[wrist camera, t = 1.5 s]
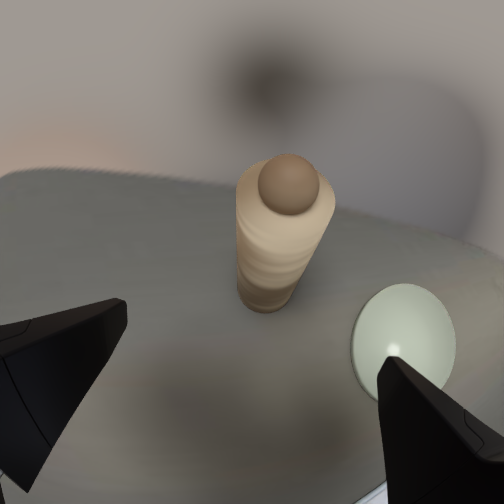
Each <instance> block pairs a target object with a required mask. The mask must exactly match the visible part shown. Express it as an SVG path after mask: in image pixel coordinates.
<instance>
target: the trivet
mask: <svg viewBox="0 0 504 504" xmlns="http://www.w3.org/2000/svg"><path fill="white" fill-rule="evenodd" d="M455 352H456V340H455V332H454V328H453V324H452V321H451V319H450V316H449V314H448V312H447V310H446V309H445V307H444V306H443V304H442V303H441V302H440V301H439V299H438V298H437V297H435V296H434V295H433V294H432V293H431V292H429V291H428V290H426V289H424V288H422V287H419V286H417V285H412V284H396V285H393V286H390V287H387V288H385V289H383V290H382V291H380V292H379V293H378V294H376V295H375V296H374V297H373V298H371V299H370V300H369V301H368V302H367V303H366V304H365V305H364V307H363V308H362V310H361V311H360V313H359V315H358V317H357V319H356V321H355V324H354V327H353V331H352V335H351V343H350V353H351V361H352V365H353V370H354V372H355V375H356V377H357V379H358V381H359V383H360V385H361V386H362V388H363V389H364V391H365V392H366V393H367V394H368V395H369V396H370V397H372V398H373V399H374V400H375V401H377V402H378V393H377V375H378V372H379V371H380V369H381V367H382V365H383V363H384V361H385V359H386V358H387V357H388V356H398V357H400V358H401V359H403V360H404V361H405V362H406V363H408V364H409V365H410V366H411V367H413V368H414V369H415V370H417V371H418V372H419V373H420V374H422V375H423V376H424V377H425V378H427V379H428V380H429V381H430V382H432V383H433V384H434V385H436V386H437V387H438V388H439V389H441V388H442V387H443V386H444V384H445V383H446V381H447V379H448V377H449V375H450V373H451V370H452V367H453V364H454V360H455Z"/></svg>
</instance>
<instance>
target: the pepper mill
mask: <svg viewBox="0 0 504 504" xmlns="http://www.w3.org/2000/svg"><path fill="white" fill-rule="evenodd" d="M334 208H335V196H334V193H333V190H332V187H331V186H330V184H329V182H328V181H327V180H326V178H325V177H324V176H323V175H322V174H321V173H319V172H318V171H317V170H315V168H314V167H313V165H312V164H311V163H310V162H309V161H307V160H306V159H304V158H303V157H301V156H298V155H294V154H282V155H279V156H276V157H274V158H272V159H269V160H264V161H261V162H259V163H256V164H254V165H253V166H251V167H250V168H248V169H247V170H246V171H245V172H244V173H243V175H242V176H241V177H240V180H239V181H238V184H237V189H236V228H237V288H238V294H239V297H240V299H241V301H242V302H243V303H244V304H245V305H246V306H247V307H248V308H249V309H251V310H253V311H255V312H259V313H272V312H275V311H277V310H279V309H281V308H282V307H283V306H284V305H285V304H286V303H287V302H288V300H289V298H290V296H291V294H292V293H293V291H294V289H295V287H296V285H297V283H298V282H299V280H300V278H301V276H302V274H303V272H304V270H305V268H306V266H307V265H308V263H309V261H310V259H311V257H312V255H313V253H314V251H315V249H316V247H317V245H318V243H319V241H320V239H321V237H322V235H323V233H324V231H325V229H326V227H327V225H328V223H329V221H330V219H331V217H332V215H333V212H334Z"/></svg>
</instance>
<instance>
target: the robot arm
mask: <svg viewBox="0 0 504 504" xmlns="http://www.w3.org/2000/svg"><path fill="white" fill-rule="evenodd" d="M127 322H128V320H127V304H126V302H125V301H124V300H121V299H118V298H112V299H108V300H104V301H101V302H97V303H93V304H89V305H85V306H81V307H77V308H73V309H69V310H65V311H61V312H57V313H53V314H49V315H45V316H41V317H37V318H33V319H32V320H31V319H28V320H24V321H20V322H16V323H11V324H6V325H0V478H1V477H2V475H3V474H5V475H6V476H7V477H8V478H9V479H11V480H12V481H13V482H14V483H15V484H16V485H18V486H19V487H20V488H21V489H22V490H24V491H25V492H26V493H28V492H29V490H30V489H31V487H32V485H33V483H34V481H35V479H36V477H37V475H38V474H39V472H40V470H41V468H42V466H43V465H44V463H45V461H46V459H47V457H48V456H49V454H50V452H51V450H52V448H53V447H54V445H55V443H56V442H57V440H58V438H59V437H60V435H61V433H62V432H63V430H64V428H65V427H66V425H67V423H68V422H69V420H70V419H71V417H72V415H73V414H74V412H75V411H76V409H77V407H78V406H79V404H80V403H81V401H82V400H83V398H84V396H85V395H86V393H87V392H88V390H89V389H90V387H91V386H92V384H93V383H94V381H95V380H96V378H97V377H98V375H99V374H100V372H101V371H102V369H103V368H104V366H105V365H106V363H107V362H108V360H109V358H110V357H111V355H112V353H113V351H114V349H115V347H116V345H117V344H118V342H119V340H120V338H121V336H122V334H123V332H124V331H125V329H126V326H127ZM377 393H378V412H379V422H380V428H381V436H382V443H383V451H384V460H385V470H386V482H387V497H388V504H504V437H503V436H501V435H500V434H499V433H497V432H496V431H494V430H493V429H491V428H490V427H488V426H487V425H485V424H484V423H483V422H481V421H480V420H479V419H477V418H476V417H475V416H473V415H472V414H471V413H470V412H468V411H467V410H466V409H464V408H463V407H462V406H461V405H459V404H458V403H457V402H456V401H454V400H453V399H452V398H451V397H449V396H448V395H447V394H446V393H444V392H443V391H442V390H441V389H439V388H438V387H437V386H436V385H434V384H433V383H432V382H430V381H429V380H428V379H427V378H425V377H424V376H423V375H422V374H420V373H419V372H418V371H417V370H415V369H414V368H413V367H411V366H410V365H409V364H408V363H406V362H405V361H404V360H403V359H401V358H400V357H398V356H388V357H387V358H386V359H385V361H384V363H383V365H382V367H381V369H380V371H379V372H378V375H377ZM0 504H5V501H4V497H3V493H2V488H1V484H0Z"/></svg>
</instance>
